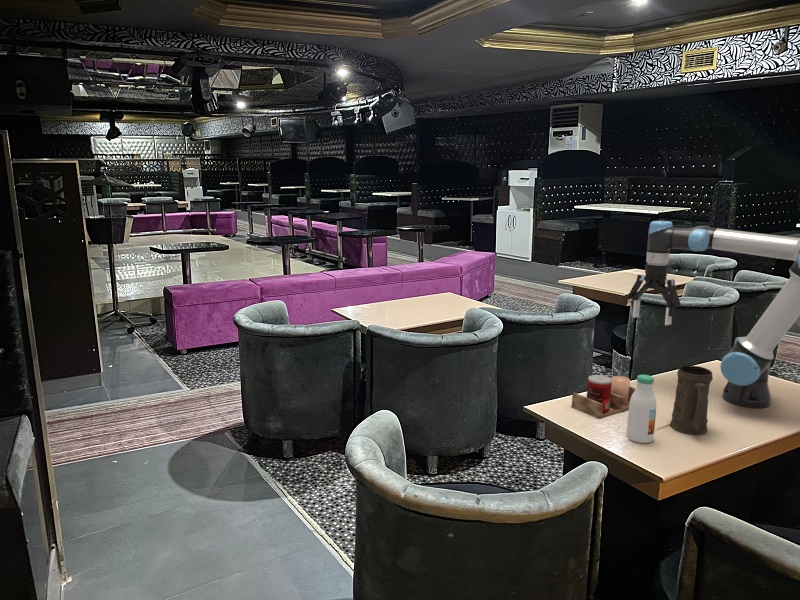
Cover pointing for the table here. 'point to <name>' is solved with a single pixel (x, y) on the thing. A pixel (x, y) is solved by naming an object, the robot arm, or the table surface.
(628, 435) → the milk bottle
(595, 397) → the canned food
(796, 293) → the robot arm
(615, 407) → the rack
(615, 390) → the peach rounded block
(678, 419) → the beer stein
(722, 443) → the table surface
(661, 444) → the table surface
